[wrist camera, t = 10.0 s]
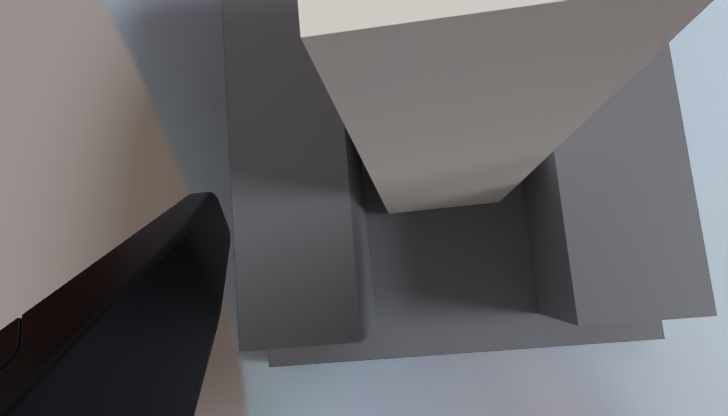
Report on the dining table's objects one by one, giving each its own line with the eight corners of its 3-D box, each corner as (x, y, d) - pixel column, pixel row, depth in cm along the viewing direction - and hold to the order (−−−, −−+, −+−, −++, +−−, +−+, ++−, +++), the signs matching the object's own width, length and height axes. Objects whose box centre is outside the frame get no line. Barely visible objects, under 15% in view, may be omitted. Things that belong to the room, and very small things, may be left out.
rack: (649, 334, 16) (748, 360, 11) (277, 362, 17) (221, 395, 13) (585, -72, 18) (646, -200, 13) (254, -24, 19) (198, -126, 14)
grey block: (499, 202, 16) (739, -24, 4) (388, 213, 17) (300, 37, 4) (479, 52, 17) (631, -527, 5) (374, 66, 17) (262, -443, 5)
